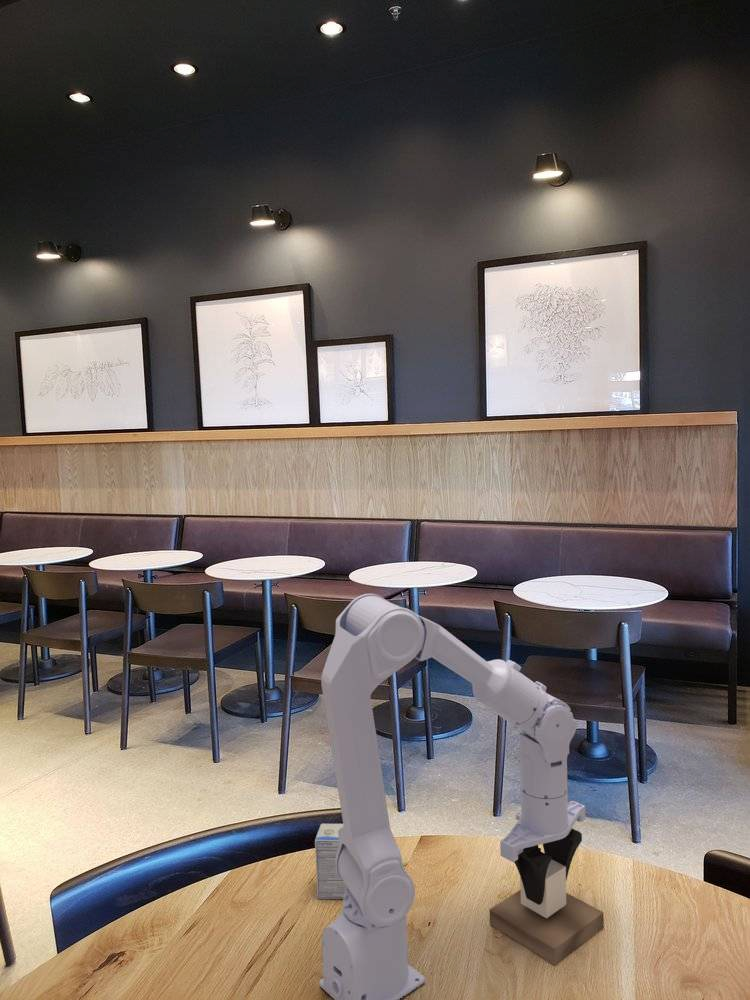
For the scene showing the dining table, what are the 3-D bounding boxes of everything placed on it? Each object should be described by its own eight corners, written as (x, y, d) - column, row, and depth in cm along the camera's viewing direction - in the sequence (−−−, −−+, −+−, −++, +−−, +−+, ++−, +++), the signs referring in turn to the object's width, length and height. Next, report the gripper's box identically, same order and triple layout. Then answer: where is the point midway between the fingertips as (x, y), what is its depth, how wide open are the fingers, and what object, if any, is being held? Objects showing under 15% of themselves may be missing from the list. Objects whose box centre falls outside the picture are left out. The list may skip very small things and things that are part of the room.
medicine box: (377, 882, 104) (375, 823, 103) (374, 902, 99) (372, 840, 98) (322, 880, 104) (319, 822, 104) (316, 900, 100) (314, 838, 99)
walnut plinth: (554, 965, 86) (554, 949, 86) (489, 924, 94) (489, 909, 93) (603, 927, 92) (603, 912, 92) (539, 892, 100) (538, 878, 100)
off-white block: (546, 918, 90) (545, 879, 90) (520, 903, 93) (520, 865, 93) (566, 904, 93) (565, 866, 92) (540, 890, 96) (539, 853, 95)
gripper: (553, 761, 99) (554, 857, 100) (480, 796, 90) (482, 902, 91) (598, 778, 94) (599, 880, 95) (526, 817, 85) (528, 930, 86)
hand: (545, 892), depth 93 cm, fingers closed on off-white block, 4 cm apart
